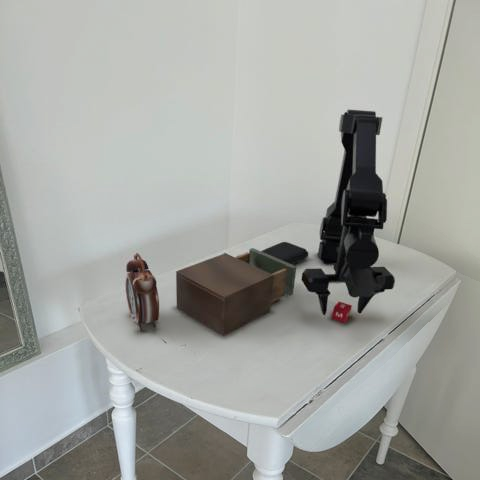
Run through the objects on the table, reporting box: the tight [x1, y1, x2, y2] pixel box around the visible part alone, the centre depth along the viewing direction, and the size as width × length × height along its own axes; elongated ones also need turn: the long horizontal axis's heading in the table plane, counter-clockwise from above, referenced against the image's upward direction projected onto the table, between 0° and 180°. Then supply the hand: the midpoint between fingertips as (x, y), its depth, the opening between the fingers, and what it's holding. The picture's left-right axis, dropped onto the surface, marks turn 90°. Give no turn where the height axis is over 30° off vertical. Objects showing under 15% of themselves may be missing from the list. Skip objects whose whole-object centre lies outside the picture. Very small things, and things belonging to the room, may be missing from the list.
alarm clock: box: [124, 252, 160, 332], centre depth 96 cm, size 11×5×15 cm, turn 23°
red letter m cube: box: [331, 301, 353, 324], centre depth 105 cm, size 3×3×3 cm
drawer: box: [234, 247, 297, 303], centre depth 109 cm, size 15×13×7 cm
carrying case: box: [260, 241, 309, 266], centre depth 128 cm, size 11×3×15 cm
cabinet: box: [175, 252, 274, 337], centre depth 103 cm, size 15×15×9 cm
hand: (341, 313), depth 105 cm, fingers open, 8 cm apart
